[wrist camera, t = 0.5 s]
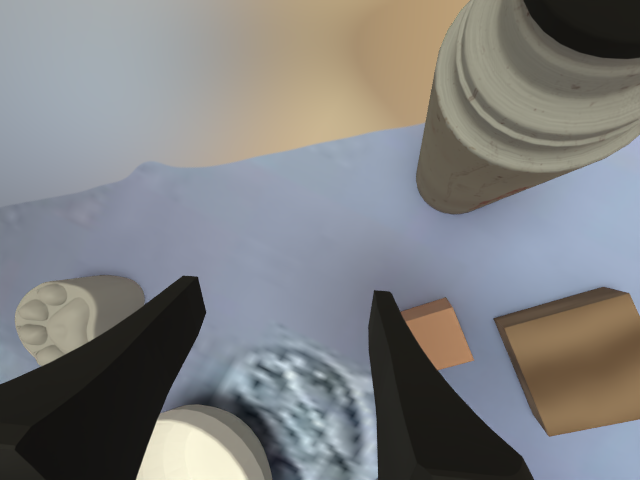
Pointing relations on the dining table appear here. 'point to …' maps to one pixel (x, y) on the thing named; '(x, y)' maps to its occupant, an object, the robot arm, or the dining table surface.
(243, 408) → the dining table surface
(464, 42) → the thermos bottle
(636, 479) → the dining table surface
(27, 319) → the lumpy-topped squat cylinder
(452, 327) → the terracotta cube
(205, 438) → the bowl
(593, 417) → the walnut base
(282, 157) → the dining table surface
